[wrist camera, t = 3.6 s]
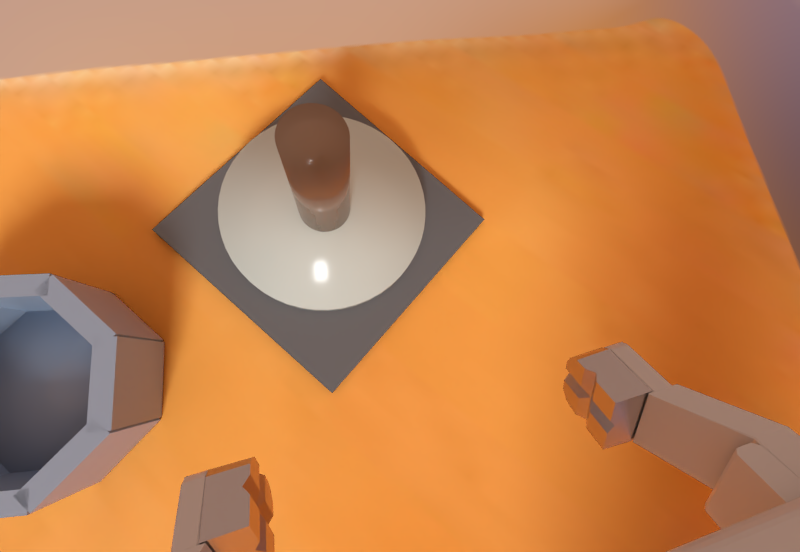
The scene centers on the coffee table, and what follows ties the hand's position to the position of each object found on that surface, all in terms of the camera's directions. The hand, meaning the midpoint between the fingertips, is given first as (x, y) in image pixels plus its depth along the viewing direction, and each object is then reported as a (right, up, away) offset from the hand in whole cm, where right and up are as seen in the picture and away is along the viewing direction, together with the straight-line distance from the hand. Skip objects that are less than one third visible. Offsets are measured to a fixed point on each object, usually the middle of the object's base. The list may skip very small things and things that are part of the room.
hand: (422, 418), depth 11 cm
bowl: (-19, -2, +12) cm, 22 cm away
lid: (-5, +7, +15) cm, 18 cm away
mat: (-5, +7, +16) cm, 18 cm away
